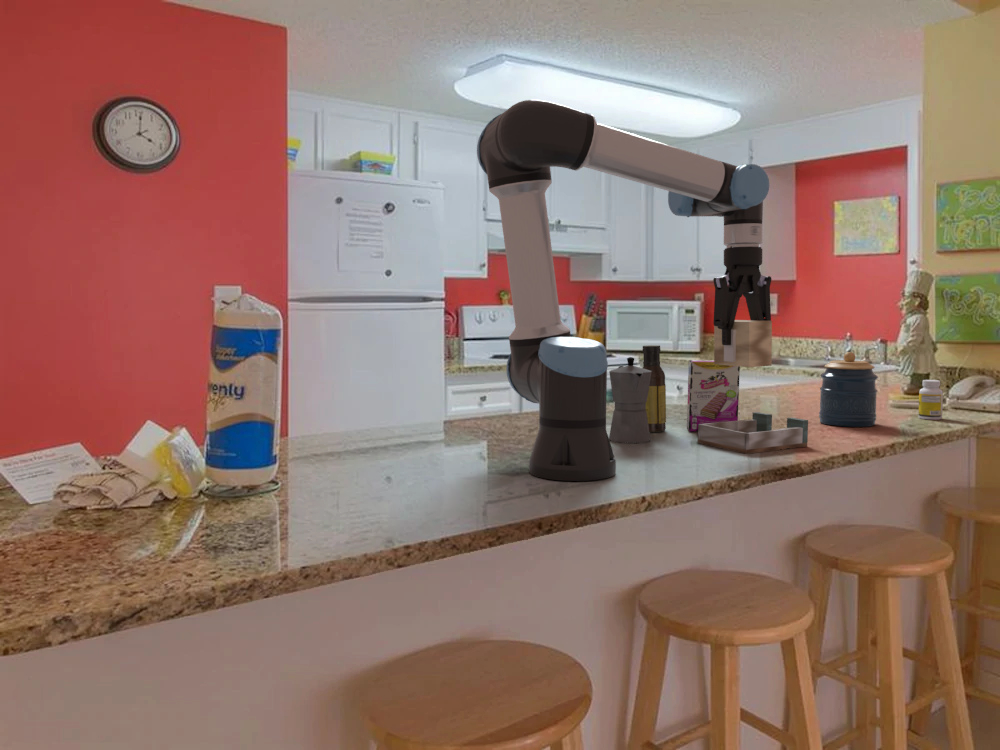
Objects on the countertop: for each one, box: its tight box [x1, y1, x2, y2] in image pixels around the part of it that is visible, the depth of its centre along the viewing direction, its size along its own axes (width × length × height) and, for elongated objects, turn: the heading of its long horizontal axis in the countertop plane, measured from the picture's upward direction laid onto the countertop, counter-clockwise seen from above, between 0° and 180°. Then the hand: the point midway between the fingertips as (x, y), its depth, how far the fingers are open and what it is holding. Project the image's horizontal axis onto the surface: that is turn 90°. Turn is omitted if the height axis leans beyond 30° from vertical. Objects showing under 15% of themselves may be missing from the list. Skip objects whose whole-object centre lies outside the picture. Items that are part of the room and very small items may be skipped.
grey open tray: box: [697, 411, 809, 455], centre depth 171 cm, size 17×14×6 cm
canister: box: [818, 351, 879, 428], centre depth 200 cm, size 13×13×18 cm
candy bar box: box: [686, 359, 741, 433], centre depth 189 cm, size 11×5×16 cm, turn 84°
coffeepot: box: [608, 356, 652, 444], centre depth 178 cm, size 15×9×18 cm, turn 8°
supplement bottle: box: [918, 379, 944, 421], centre depth 209 cm, size 5×5×10 cm
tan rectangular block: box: [713, 319, 773, 368], centre depth 167 cm, size 6×10×9 cm, turn 27°
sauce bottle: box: [642, 344, 667, 433], centre depth 189 cm, size 6×6×20 cm
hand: (742, 360), depth 167 cm, fingers closed on tan rectangular block, 6 cm apart
